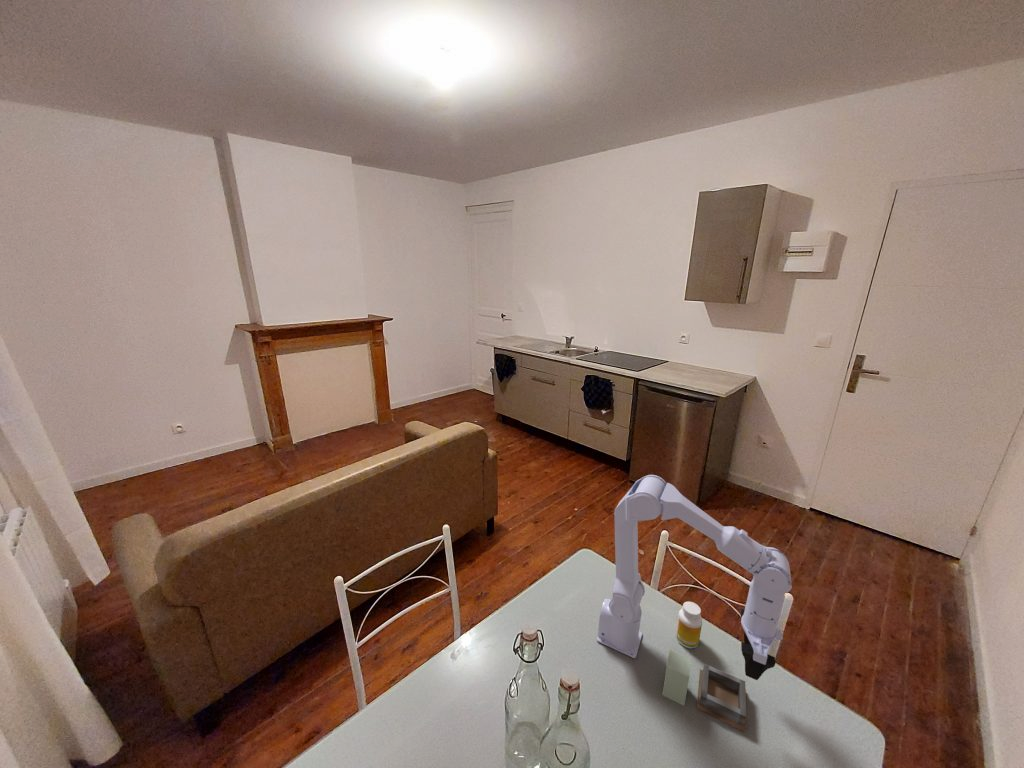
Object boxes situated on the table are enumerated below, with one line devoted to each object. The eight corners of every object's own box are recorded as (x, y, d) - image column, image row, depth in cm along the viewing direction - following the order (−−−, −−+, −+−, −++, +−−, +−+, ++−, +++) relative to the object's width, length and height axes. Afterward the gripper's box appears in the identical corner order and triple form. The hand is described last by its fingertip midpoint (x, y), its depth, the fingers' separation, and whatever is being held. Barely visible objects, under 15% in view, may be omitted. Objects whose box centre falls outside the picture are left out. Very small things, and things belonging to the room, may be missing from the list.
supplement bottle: (701, 651, 93) (707, 619, 90) (677, 646, 94) (682, 614, 91) (695, 631, 98) (701, 600, 96) (673, 628, 99) (678, 597, 97)
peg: (662, 694, 83) (666, 666, 81) (665, 677, 87) (669, 649, 85) (684, 705, 81) (689, 676, 79) (686, 687, 85) (691, 659, 83)
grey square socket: (696, 708, 80) (698, 696, 80) (699, 671, 88) (701, 660, 87) (746, 732, 76) (749, 720, 75) (745, 692, 84) (747, 680, 83)
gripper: (792, 646, 69) (776, 702, 72) (783, 591, 81) (770, 641, 85) (746, 629, 72) (734, 683, 76) (744, 578, 84) (733, 627, 88)
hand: (750, 660), depth 80 cm, fingers open, 7 cm apart
